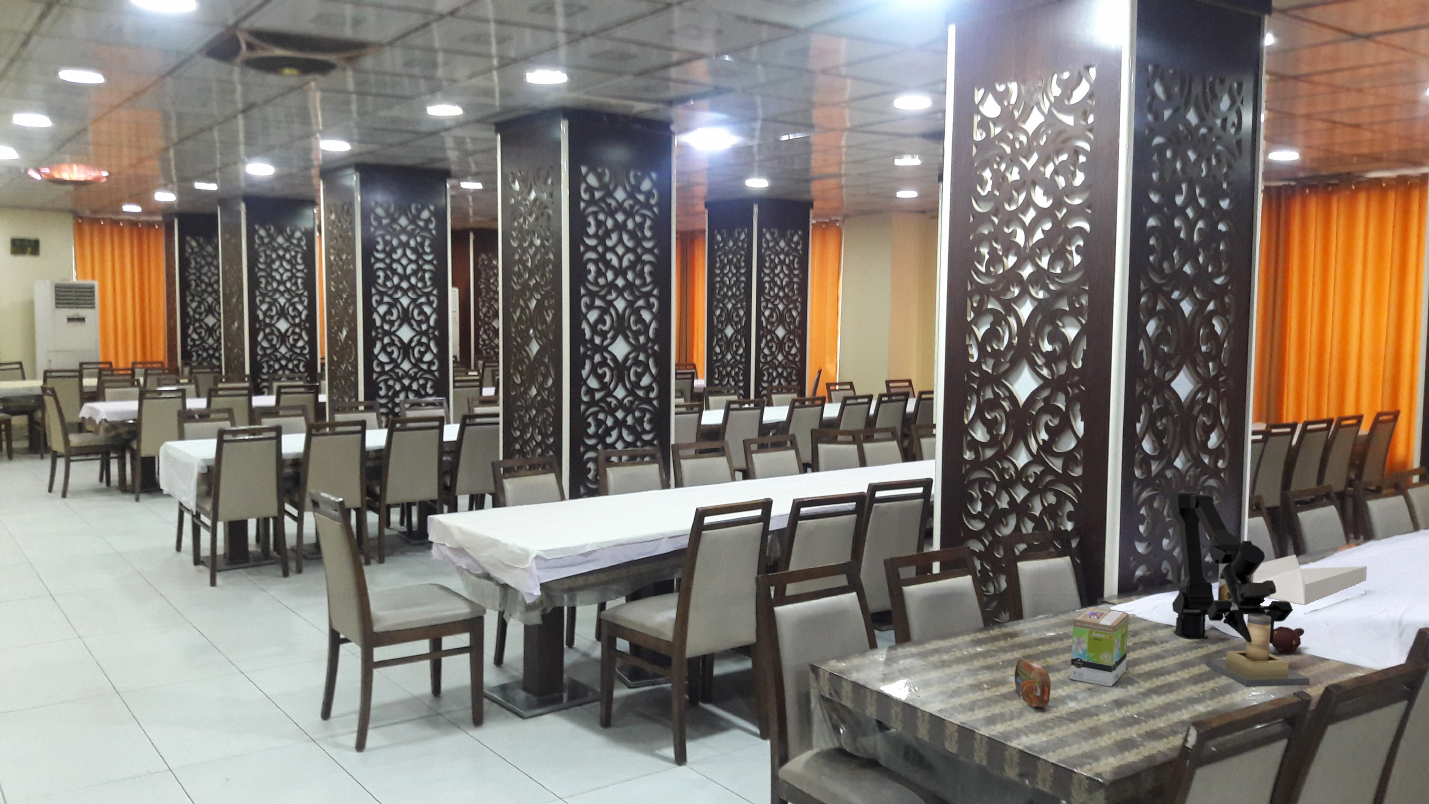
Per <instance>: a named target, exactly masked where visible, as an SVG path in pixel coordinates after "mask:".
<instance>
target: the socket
mask: <svg viewBox="0 0 1429 804" xmlns="http://www.w3.org/2000/svg"><path fill="white" fill-rule="evenodd" d="M1289 662H1290V661H1287V660H1285V659H1283V658H1281V657H1278V656H1277V655H1274V654H1272V653H1270V652H1269V661H1252V660H1250V659H1248V658H1246V650H1227V651H1226V658H1223V659H1222V658H1221V659H1206V662H1205V663H1206V664H1205V666H1206V667H1208V668H1210V669H1212V670H1214V671H1215V672H1218V673H1219V674H1221V675H1223V676H1225V677H1228V678H1229V679H1231V680H1233V681H1235V682H1237V683H1239V684H1242V685H1243V686H1245V687H1270V686H1272V687H1273V686H1275V687H1276V686H1302V685H1303V686H1306V685H1310V677H1308V676H1305V675H1304V674H1301V673H1299V672H1297V671H1294V670H1293V669H1290V668H1289V665H1290V664H1289Z"/></svg>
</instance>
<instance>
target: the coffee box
mask: <svg viewBox="0 0 1429 804" xmlns="http://www.w3.org/2000/svg"><path fill="white" fill-rule="evenodd" d="M1226 565H1228V564H1218V589H1217V600H1229V601H1231V602H1232V604H1233V601H1232V599H1230V598H1228V593H1229V590H1228V587H1227V584H1226V581H1225V579H1220V574H1221V573H1222V569H1223V568H1224V567H1225V566H1226ZM1249 576H1250V578H1251V581H1252V583H1253V574H1252V575H1249Z"/></svg>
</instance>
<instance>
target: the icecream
mask: <svg viewBox="0 0 1429 804" xmlns="http://www.w3.org/2000/svg"><path fill="white" fill-rule="evenodd" d="M1304 633H1305V630H1304V629H1303V628H1301V627H1298V628H1297V627H1296V628H1294V629H1293V628H1291V627H1287V626H1278V627H1276V628H1274V638H1273V642H1272V643H1270V644H1271V645H1272V647H1274V648H1275V650H1277V651H1278V652H1279V653H1283V654H1287V655H1289V654H1292V653H1293V652H1295V651H1298V650H1297V649H1298V648H1299V647H1300V646H1301V644H1302V641H1301V640H1302V639H1301V636H1303V635H1304Z"/></svg>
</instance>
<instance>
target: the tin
mask: <svg viewBox="0 0 1429 804" xmlns="http://www.w3.org/2000/svg"><path fill="white" fill-rule="evenodd" d="M1014 685H1015V690H1016V693H1017V694H1020V696H1022V697H1023V698H1024V699H1025V700H1026V701H1027V702H1028V703H1029V704H1030V705H1031V706H1032V708H1045V707H1047V706H1048V705H1049V702H1050V697H1051V686H1052V683H1051V678H1050V675H1049V673H1048V671H1047V670H1046V669H1044V668H1043V667H1042V666H1041V665H1040V664H1038V663H1037V662H1035V661H1034V660H1032V659H1023V658H1021V659H1019V660H1018V661H1017V663H1016V665H1015V670H1014ZM1020 696H1019V697H1020ZM1024 699H1023V700H1024ZM1025 700H1024V701H1025ZM1026 701H1025V702H1026ZM1027 702H1026V703H1027ZM1028 703H1027V704H1028ZM1029 704H1028V705H1029ZM1031 706H1030V707H1031Z"/></svg>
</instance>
